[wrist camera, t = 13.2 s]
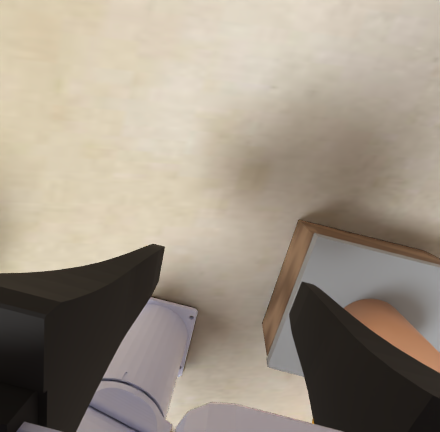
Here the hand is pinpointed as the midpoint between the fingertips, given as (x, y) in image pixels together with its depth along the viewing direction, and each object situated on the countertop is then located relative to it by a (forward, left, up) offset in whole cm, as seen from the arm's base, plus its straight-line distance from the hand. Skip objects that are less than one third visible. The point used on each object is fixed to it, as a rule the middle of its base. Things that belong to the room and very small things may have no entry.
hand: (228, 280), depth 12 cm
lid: (-4, -12, -6) cm, 14 cm away
